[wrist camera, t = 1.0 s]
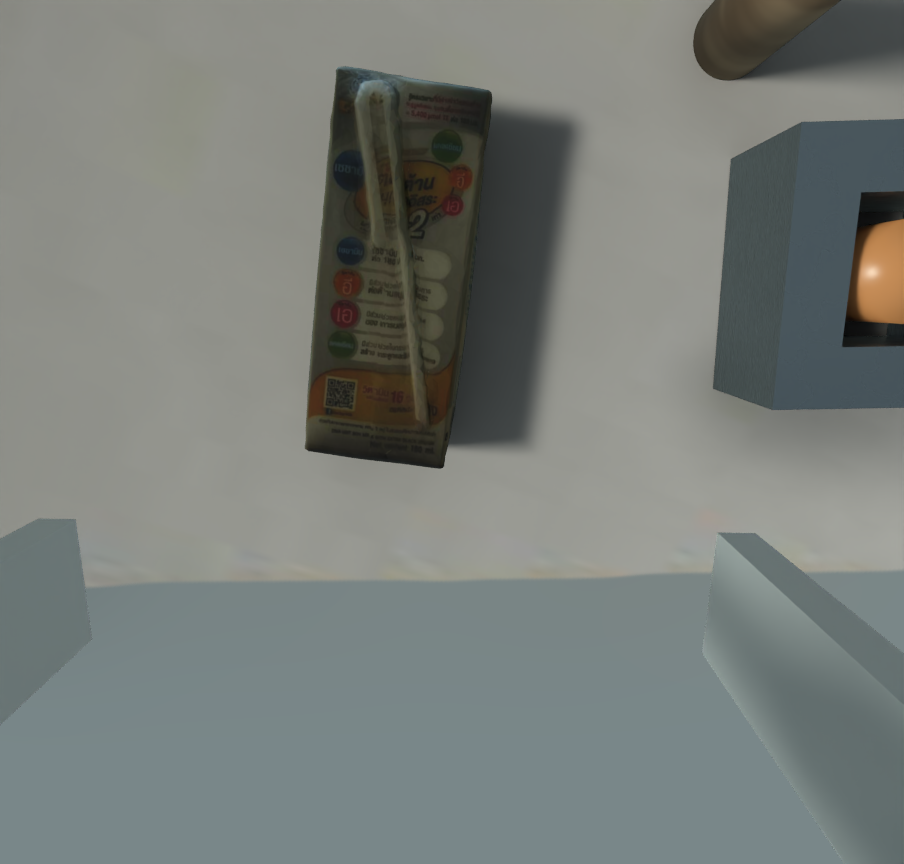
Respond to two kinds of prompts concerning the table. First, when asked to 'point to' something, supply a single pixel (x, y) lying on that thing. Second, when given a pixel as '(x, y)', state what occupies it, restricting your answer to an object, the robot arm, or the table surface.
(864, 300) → the button
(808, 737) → the robot arm
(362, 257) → the beverage carton
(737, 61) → the brown rounded rod
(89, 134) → the table surface
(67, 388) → the table surface
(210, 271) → the table surface
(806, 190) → the box
